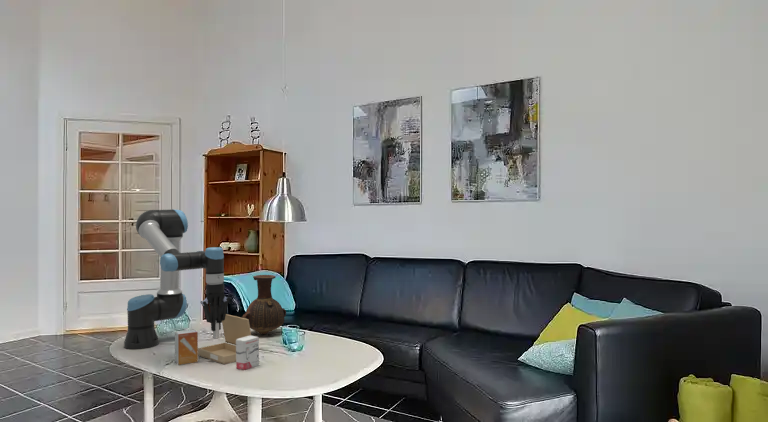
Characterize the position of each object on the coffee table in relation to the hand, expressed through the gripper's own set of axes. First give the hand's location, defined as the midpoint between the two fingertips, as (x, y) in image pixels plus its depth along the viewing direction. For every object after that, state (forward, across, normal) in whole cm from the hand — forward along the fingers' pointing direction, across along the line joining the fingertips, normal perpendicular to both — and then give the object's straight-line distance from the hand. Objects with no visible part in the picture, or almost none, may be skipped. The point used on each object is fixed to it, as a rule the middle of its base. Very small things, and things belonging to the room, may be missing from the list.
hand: (216, 337), depth 237 cm
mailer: (+9, +4, 0) cm, 10 cm away
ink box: (+9, +2, -21) cm, 23 cm away
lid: (-1, +10, 0) cm, 10 cm away
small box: (+9, -11, +5) cm, 15 cm away
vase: (+9, +41, +23) cm, 48 cm away
